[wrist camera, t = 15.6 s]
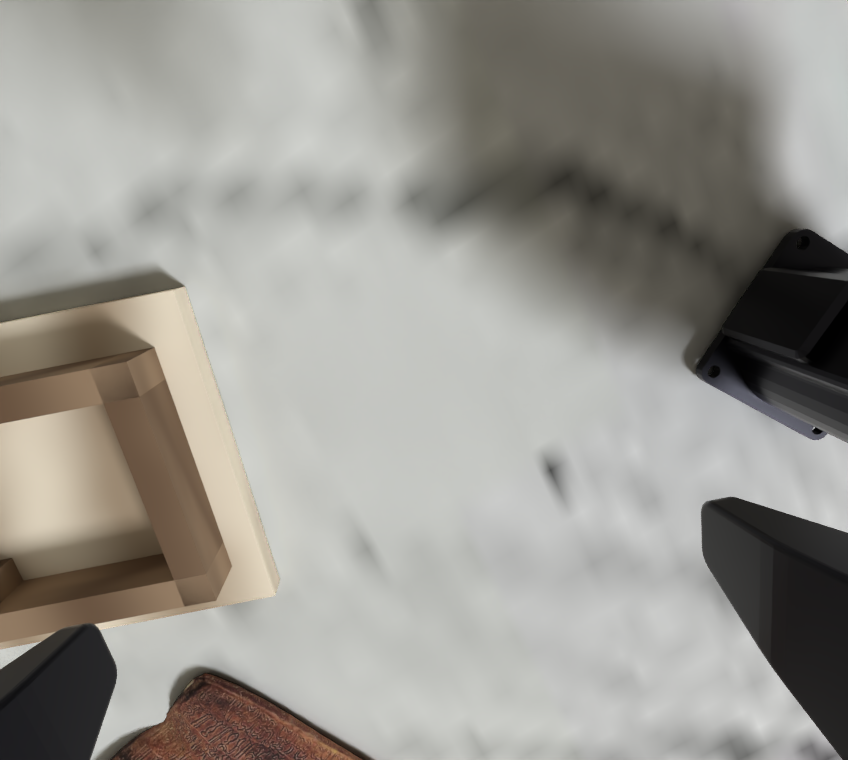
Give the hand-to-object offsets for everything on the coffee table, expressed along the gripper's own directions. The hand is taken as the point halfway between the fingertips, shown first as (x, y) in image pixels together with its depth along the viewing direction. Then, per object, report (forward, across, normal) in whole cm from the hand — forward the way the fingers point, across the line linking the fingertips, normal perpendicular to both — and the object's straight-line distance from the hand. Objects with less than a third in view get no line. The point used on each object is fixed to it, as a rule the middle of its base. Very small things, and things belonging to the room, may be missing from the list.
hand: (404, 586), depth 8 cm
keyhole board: (+13, +17, +2) cm, 22 cm away
